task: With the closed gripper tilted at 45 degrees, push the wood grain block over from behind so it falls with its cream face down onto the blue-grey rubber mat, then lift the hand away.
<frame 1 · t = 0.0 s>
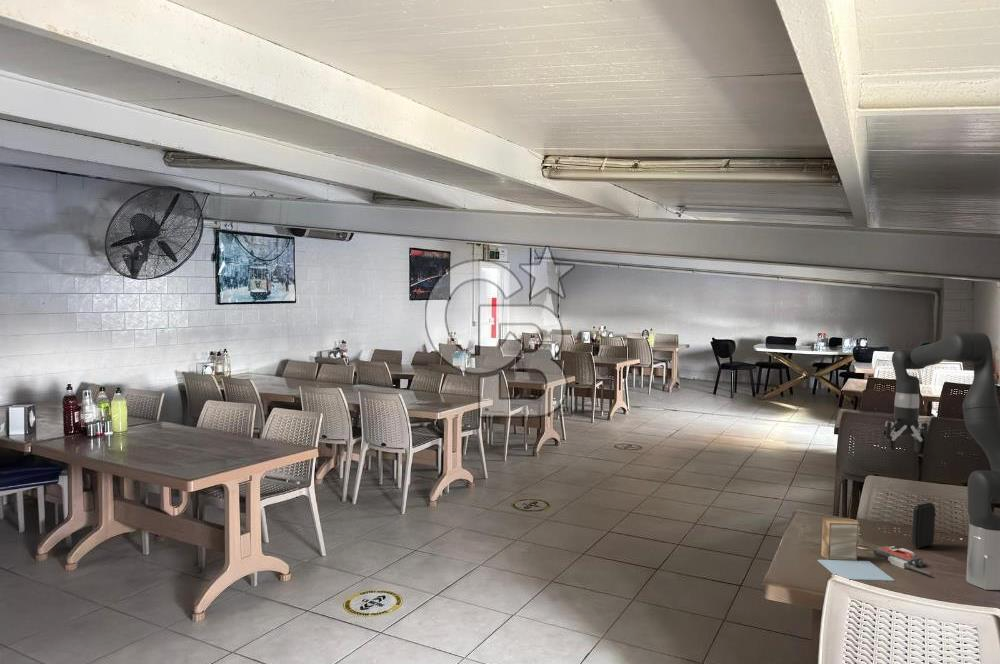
hand: (904, 451, 249), 29 cm above the table, tool pointing down, fingers open, 8 cm apart
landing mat: (854, 570, 213), on the table
walkie-talkie: (906, 566, 220), on the table
wood grain block: (838, 558, 224), on the table
carrying case or bag: (923, 547, 236), on the table
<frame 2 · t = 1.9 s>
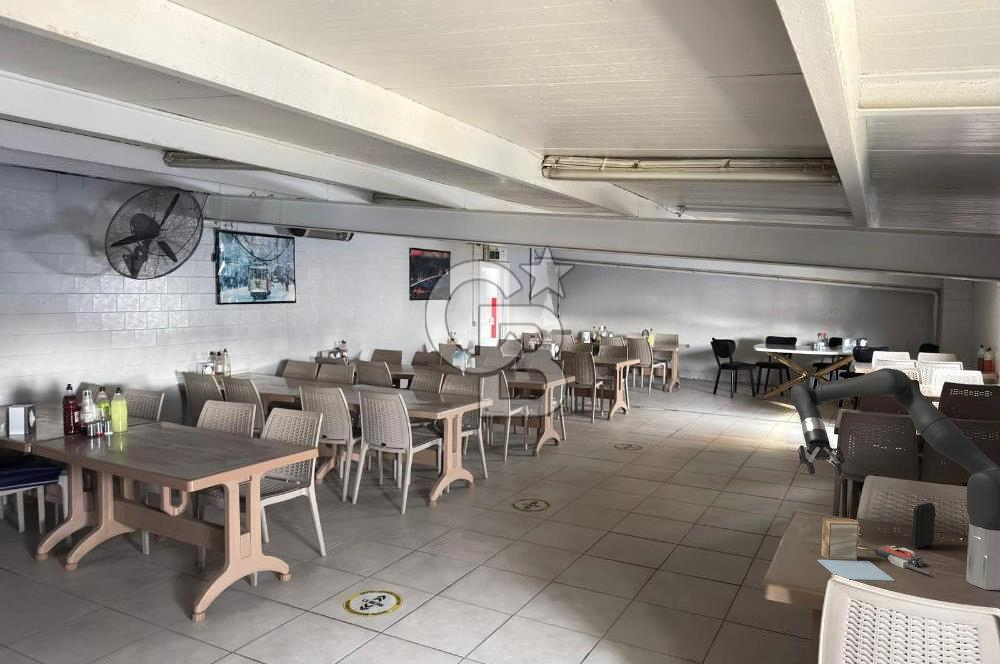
hand: (826, 474, 237), 23 cm above the table, tool tilted 45°, fingers open, 8 cm apart
nothing on the table moved.
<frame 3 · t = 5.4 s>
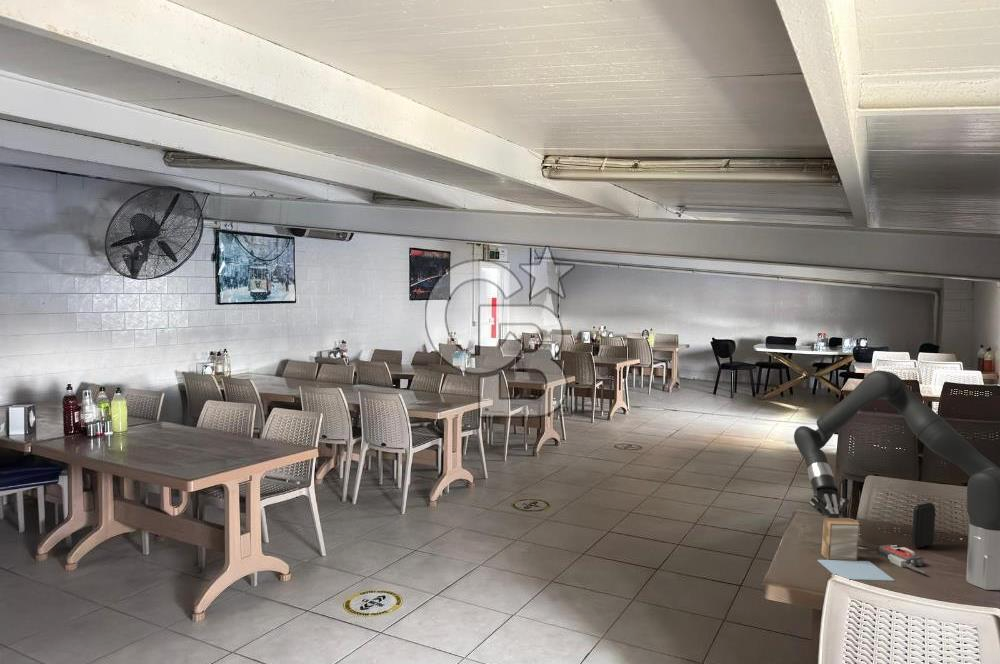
hand: (836, 526, 226), 9 cm above the table, tool tilted 45°, fingers closed
wood grain block: (838, 557, 224), on the table, touching gripper
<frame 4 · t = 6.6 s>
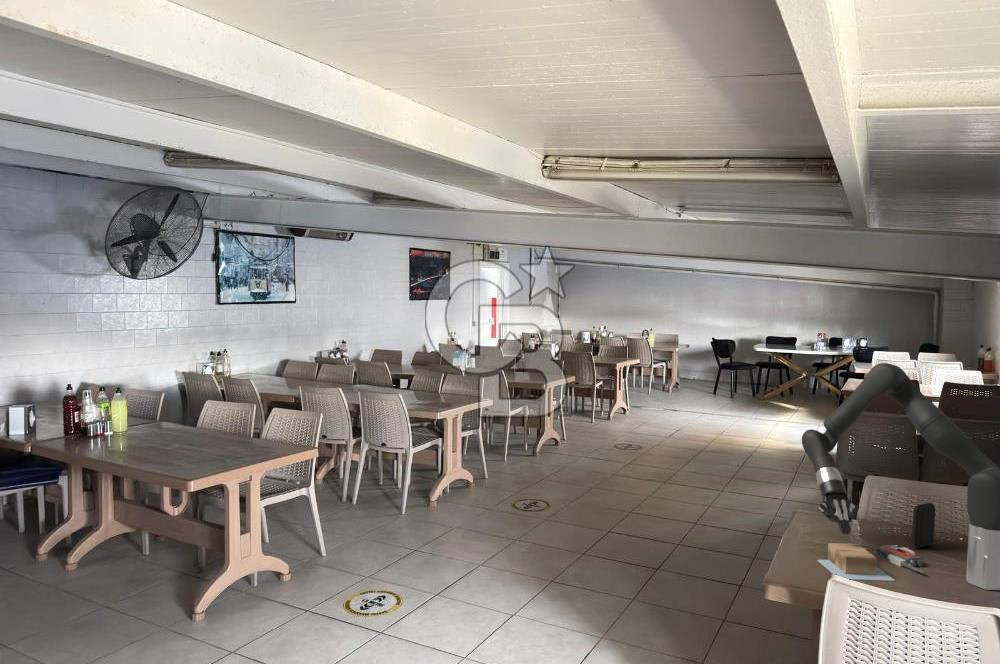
hand: (846, 533, 219), 9 cm above the table, tool tilted 45°, fingers closed
wood grain block: (842, 551, 222), point 3 cm above the table, tilted 90°, touching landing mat
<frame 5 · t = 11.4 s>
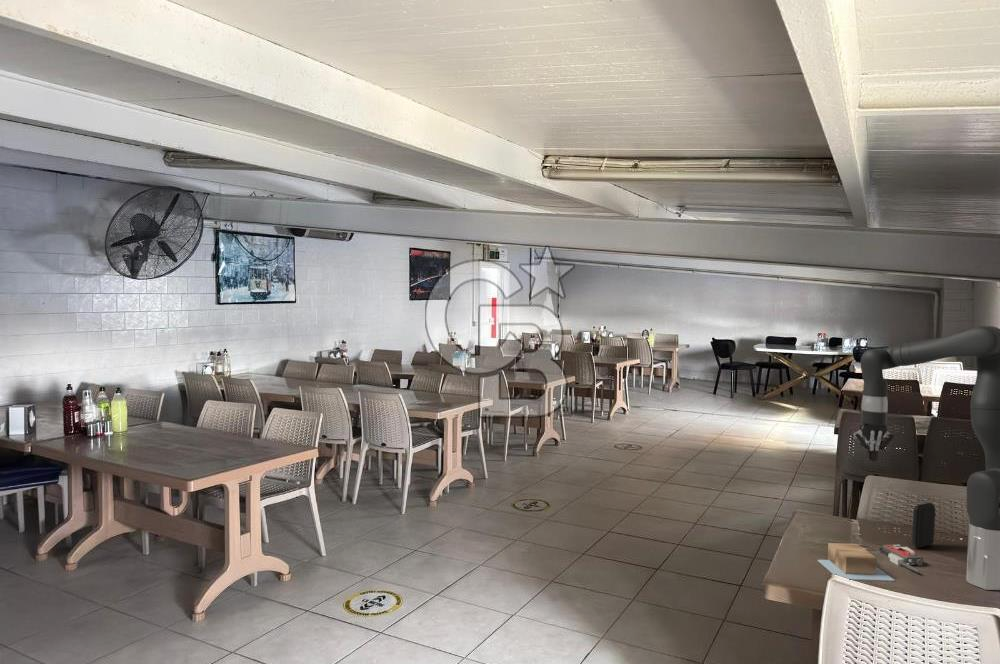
hand: (871, 461, 232), 29 cm above the table, tool pointing down, fingers closed
at the end: wood grain block tilted 90°; wood grain block touching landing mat; wood grain block inside the target area (0.8 cm from its centre), point 2.9 cm above the table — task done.
